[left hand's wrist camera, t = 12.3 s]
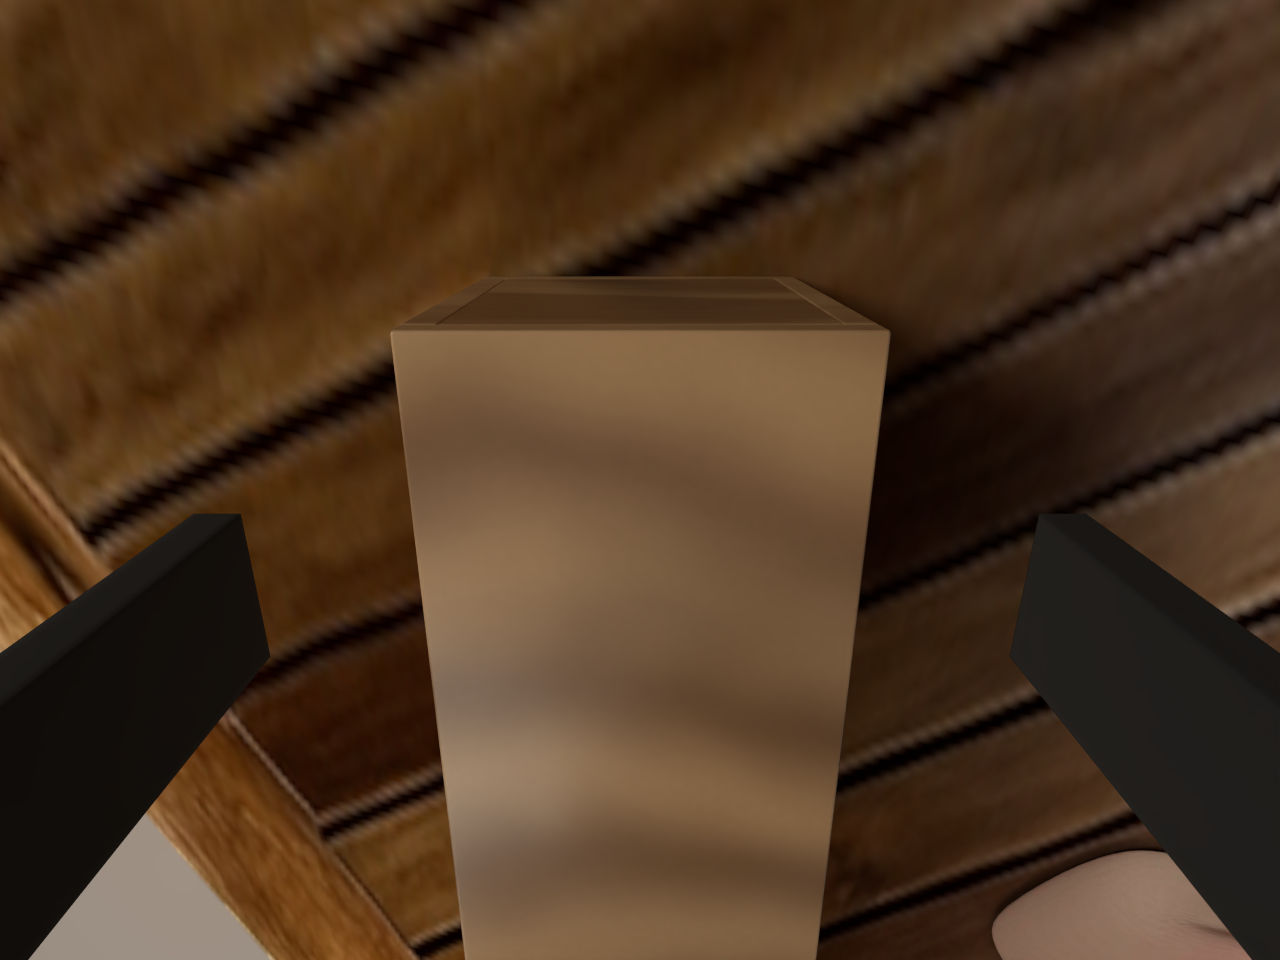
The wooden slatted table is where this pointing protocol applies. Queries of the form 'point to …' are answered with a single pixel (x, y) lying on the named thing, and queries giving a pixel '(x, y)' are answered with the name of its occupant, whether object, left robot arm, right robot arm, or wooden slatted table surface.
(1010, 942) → the anatomical model
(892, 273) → the wooden slatted table surface
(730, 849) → the cabinet
